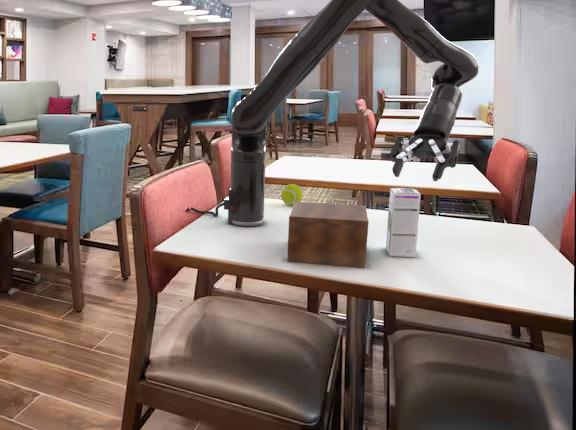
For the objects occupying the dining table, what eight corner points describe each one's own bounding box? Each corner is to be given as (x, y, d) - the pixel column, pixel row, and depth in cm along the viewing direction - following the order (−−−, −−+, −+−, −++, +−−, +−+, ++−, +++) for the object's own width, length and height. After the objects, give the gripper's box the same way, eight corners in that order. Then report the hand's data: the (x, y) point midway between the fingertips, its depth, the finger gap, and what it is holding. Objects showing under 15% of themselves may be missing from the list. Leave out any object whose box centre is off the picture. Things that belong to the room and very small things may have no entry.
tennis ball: (278, 206, 168) (278, 185, 166) (283, 202, 174) (284, 181, 172) (299, 208, 165) (300, 186, 163) (304, 204, 171) (305, 183, 169)
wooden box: (287, 261, 116) (289, 216, 114) (293, 242, 130) (295, 201, 128) (364, 267, 112) (368, 221, 110) (362, 247, 126) (365, 205, 124)
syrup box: (416, 257, 119) (422, 193, 115) (387, 256, 120) (393, 192, 116) (411, 250, 124) (417, 188, 121) (384, 248, 125) (389, 187, 122)
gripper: (402, 110, 130) (380, 163, 124) (466, 112, 121) (446, 169, 115) (408, 131, 135) (387, 183, 129) (470, 135, 126) (450, 190, 120)
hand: (414, 176), depth 122 cm, fingers open, 8 cm apart
